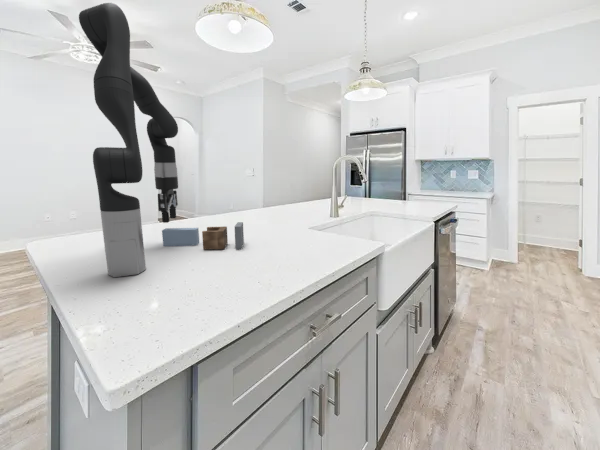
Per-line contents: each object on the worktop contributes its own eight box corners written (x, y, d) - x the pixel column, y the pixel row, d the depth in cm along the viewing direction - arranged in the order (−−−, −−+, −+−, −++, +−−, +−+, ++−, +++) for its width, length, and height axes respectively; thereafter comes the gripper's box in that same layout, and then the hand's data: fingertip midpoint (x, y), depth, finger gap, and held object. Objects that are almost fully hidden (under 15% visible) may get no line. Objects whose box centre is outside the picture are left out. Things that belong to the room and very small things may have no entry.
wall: (235, 249, 110) (234, 226, 108) (238, 243, 118) (237, 222, 117) (241, 249, 110) (240, 226, 108) (243, 243, 119) (243, 222, 117)
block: (203, 249, 109) (202, 231, 108) (208, 243, 118) (207, 226, 116) (223, 248, 109) (222, 231, 108) (227, 242, 118) (226, 226, 117)
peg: (163, 246, 115) (161, 230, 114) (166, 243, 119) (165, 228, 118) (196, 245, 116) (195, 229, 115) (199, 243, 120) (198, 227, 119)
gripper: (162, 175, 119) (165, 217, 122) (147, 176, 105) (152, 224, 108) (182, 175, 120) (185, 216, 123) (171, 176, 106) (174, 223, 109)
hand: (169, 220), depth 116 cm, fingers open, 8 cm apart
